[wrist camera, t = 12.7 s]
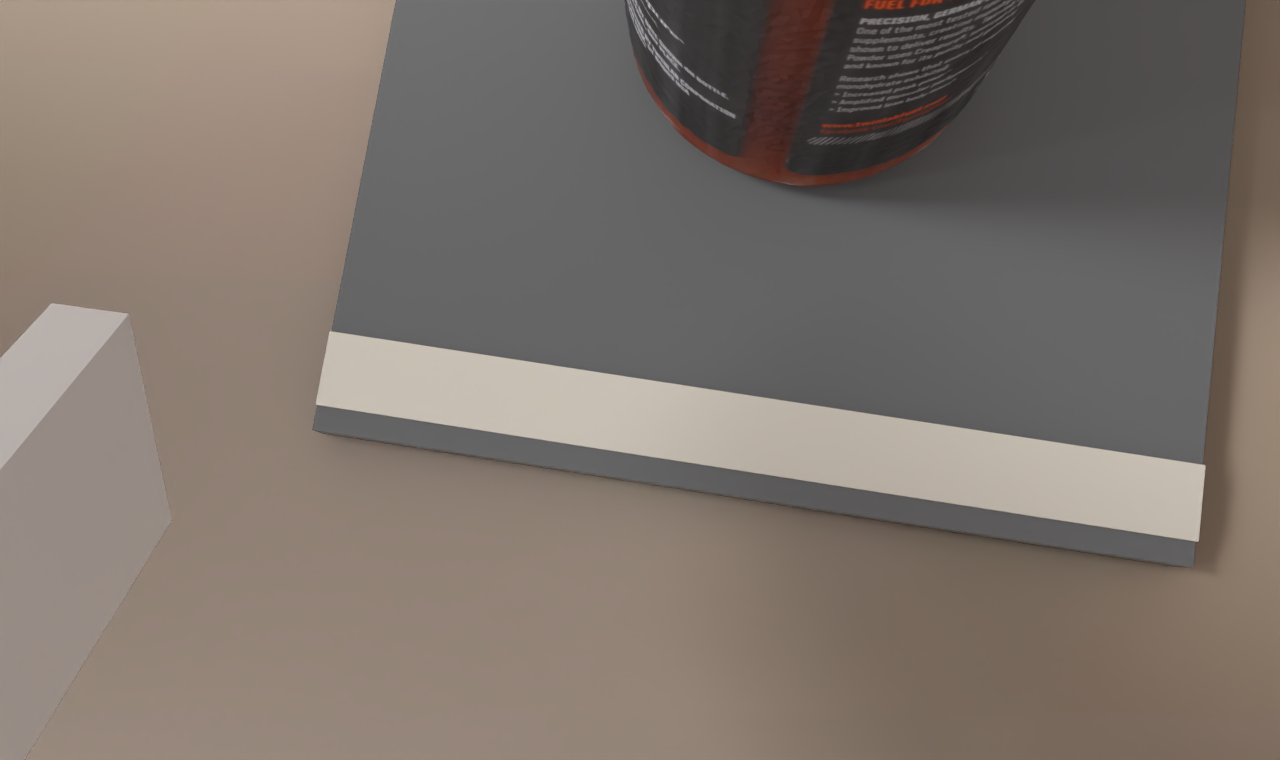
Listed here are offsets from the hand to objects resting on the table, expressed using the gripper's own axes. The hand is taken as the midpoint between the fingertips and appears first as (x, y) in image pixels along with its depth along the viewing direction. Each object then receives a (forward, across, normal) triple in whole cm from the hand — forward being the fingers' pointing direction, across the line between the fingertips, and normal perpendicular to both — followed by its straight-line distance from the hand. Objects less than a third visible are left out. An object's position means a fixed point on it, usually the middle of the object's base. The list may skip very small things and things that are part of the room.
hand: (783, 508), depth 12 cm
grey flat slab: (+11, 0, +1) cm, 11 cm away
